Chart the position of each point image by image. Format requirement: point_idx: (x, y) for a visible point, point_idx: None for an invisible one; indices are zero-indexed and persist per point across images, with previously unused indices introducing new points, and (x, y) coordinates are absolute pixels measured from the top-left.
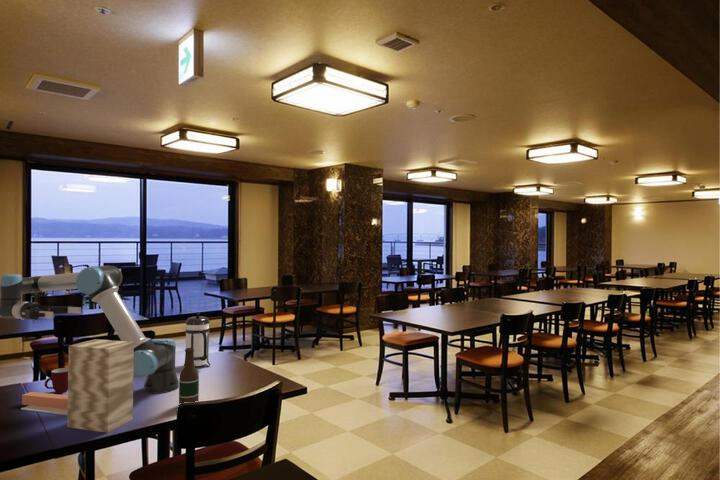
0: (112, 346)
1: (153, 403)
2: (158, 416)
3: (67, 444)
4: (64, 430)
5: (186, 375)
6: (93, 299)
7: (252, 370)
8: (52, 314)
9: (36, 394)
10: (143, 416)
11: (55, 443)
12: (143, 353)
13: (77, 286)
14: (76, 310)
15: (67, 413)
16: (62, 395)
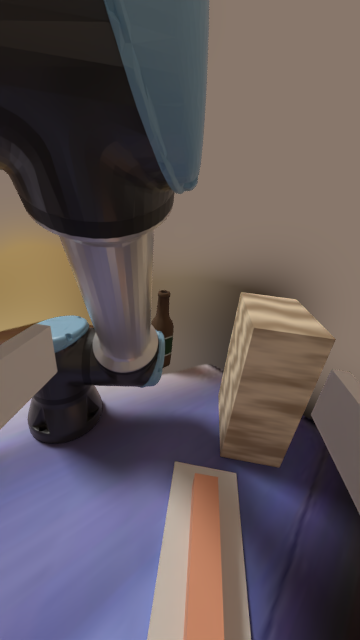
0: (282, 300)
1: (153, 396)
2: (199, 376)
3: (312, 427)
4: (289, 463)
5: (172, 324)
6: (159, 225)
7: (7, 335)
8: (330, 389)
9: None
10: (203, 389)
11: (322, 444)
12: (162, 333)
13: (205, 102)
14: (29, 370)
15: (235, 518)
16: (193, 585)
